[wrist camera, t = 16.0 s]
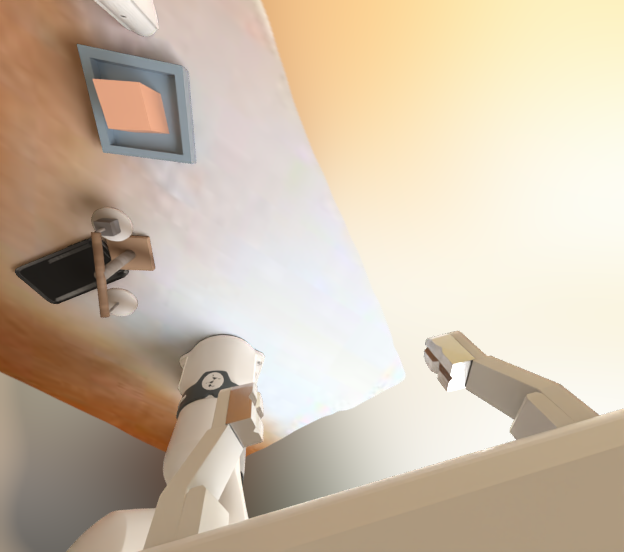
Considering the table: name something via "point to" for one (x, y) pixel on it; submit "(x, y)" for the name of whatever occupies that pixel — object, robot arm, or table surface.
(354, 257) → the table surface
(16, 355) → the table surface
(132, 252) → the tipped balance
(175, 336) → the table surface
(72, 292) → the phone
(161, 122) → the terracotta block
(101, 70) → the dish
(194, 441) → the robot arm
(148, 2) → the photo printer
